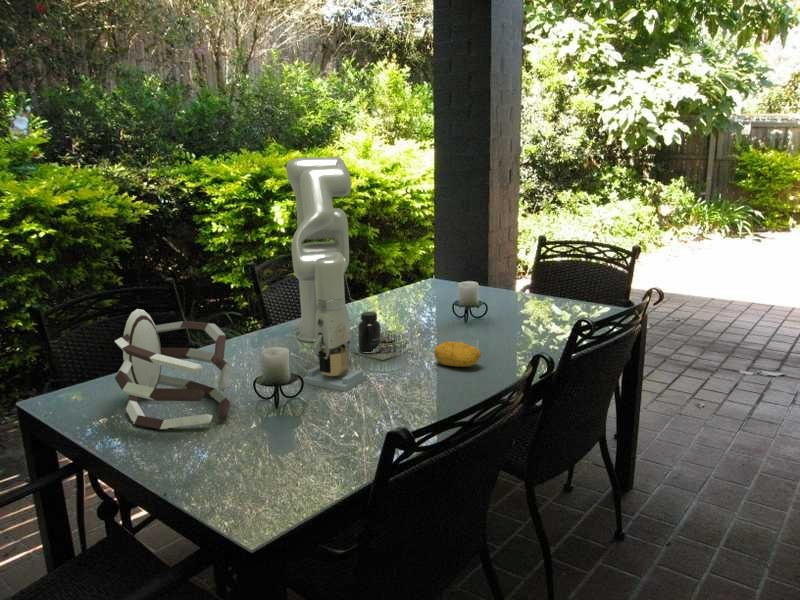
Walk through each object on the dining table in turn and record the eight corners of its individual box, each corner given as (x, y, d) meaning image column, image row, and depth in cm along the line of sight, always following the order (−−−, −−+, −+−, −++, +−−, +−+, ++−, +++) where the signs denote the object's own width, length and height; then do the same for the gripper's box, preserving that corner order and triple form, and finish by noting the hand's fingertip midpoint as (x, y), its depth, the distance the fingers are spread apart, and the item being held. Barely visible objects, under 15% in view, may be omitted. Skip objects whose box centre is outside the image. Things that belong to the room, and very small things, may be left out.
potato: (443, 358, 195) (442, 336, 194) (484, 366, 188) (485, 343, 186) (429, 366, 189) (429, 343, 187) (472, 374, 182) (472, 351, 180)
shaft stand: (303, 383, 179) (301, 349, 176) (326, 371, 187) (324, 339, 185) (345, 392, 172) (343, 357, 169) (366, 379, 180) (365, 346, 177)
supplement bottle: (378, 354, 200) (377, 316, 197) (356, 354, 201) (354, 316, 198) (383, 347, 206) (382, 310, 203) (362, 347, 208) (360, 310, 205)
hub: (315, 372, 178) (314, 351, 176) (332, 364, 183) (331, 344, 182) (337, 377, 174) (336, 356, 172) (353, 369, 180) (352, 348, 178)
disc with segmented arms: (182, 376, 184) (263, 415, 163) (88, 409, 165) (165, 458, 143) (175, 293, 177) (258, 323, 156) (75, 317, 157) (155, 355, 136)
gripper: (321, 313, 165) (325, 380, 169) (361, 298, 179) (363, 359, 184) (298, 310, 169) (302, 375, 173) (339, 295, 183) (342, 355, 187)
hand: (334, 366), depth 178 cm, fingers closed on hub, 7 cm apart
